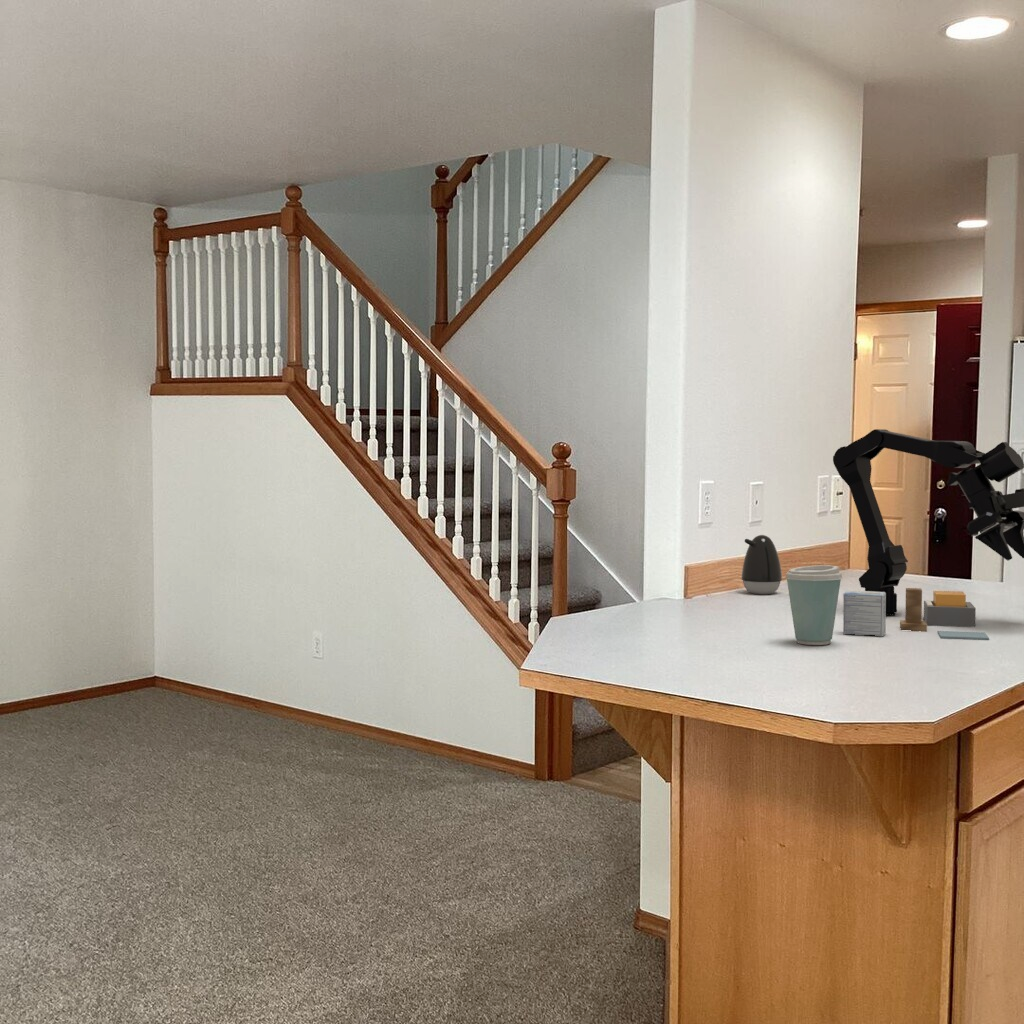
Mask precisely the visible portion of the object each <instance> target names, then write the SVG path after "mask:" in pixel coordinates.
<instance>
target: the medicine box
mask: <svg viewBox="0 0 1024 1024" xmlns="http://www.w3.org/2000/svg"><path fill="white" fill-rule="evenodd" d="M842 597H843V598H842V599H843V601H842V602H843V603H842V604H843V606H842V607H843V609H842V610H843V611H842V612H843V613H842V615H843V617H842V620H843V623H842V624H843V625H842V626H843V627H842V629H843V632H842V634H843V635H845V634H855V635H854V636H864V635H875V636H874V637H882V636H883V635H884V636H885V634H886V632H887V629H886V628H887V627H886V626H887V622H886V621H887V620H886V619H887V617H886V616H887V615H886V593H885V592H874V591H865V590H846V591H845V592H844V593H843V594H842ZM884 636H883V637H884Z"/></svg>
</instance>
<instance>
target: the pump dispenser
mask: <svg viewBox="0 0 1024 1024" xmlns="http://www.w3.org/2000/svg"><path fill="white" fill-rule="evenodd" d="M744 543H745V544H747V545H748V548H747V550H746V552H745V556H744V558H743V559H744V560H743V564H742V571H741V580H742V582H743V583H742V584H743V586H744V588H745V589H746V591H747V592H749V593H750V594H753V595H758V596H759V595H761V596H762V595H763V596H764V595H772V594H773V593H775V592H777V590H778V589H779V587H780V586H781V585H780V584H781V581H782V579H783V574H782V573H783V572H782V566H781V562H780V561H781V560H780V557H779V554H778V551H777V548H776V545H775V543H774V541H773V540H772V539H771V538H770V536H767V535H764V534H760V535H757V536H755V537H754V538H753V539H749V538H745V539H744Z"/></svg>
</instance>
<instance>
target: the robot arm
mask: <svg viewBox="0 0 1024 1024" xmlns="http://www.w3.org/2000/svg"><path fill="white" fill-rule="evenodd" d="M884 449H888V450H893V451H896V452H901V453H906V454H910V455H915V456H920V457H925V458H926V459H929V460H931V461H932V462H934V463H936V464H937V465H938V464H939V465H941V466H944V467H945V468H949V469H960V468H961V469H962V470H961V471H958V472H950V473H949V478H948V479H947V483H946V484H947V486H957V485H959V487H960V489H961V490H962V493H963V494H964V496H965V498H966V499H967V500H968V503H967V505H966V506H967V507H968V509H971V510H973V511H974V513H975V515H976V517H975V518H974V519H972V520H970V521H968V523H967V526H966V530H967V531H968V533H969V535H970V536H971V537H974V538H975V539H976V540H978V541H980V542H981V543H982V544H984V545H985V546H987V547H988V548H990V549H991V550H992V551H994V552H995V553H996V554H998V555H999V556H1001V557H1002V558H1003V559H1004V560H1006V561H1010V560H1013V555H1012V553H1011V550H1010V548H1011V549H1012V550H1013V551H1014V552H1015V553H1017V554H1018V555H1019V556H1020V557H1021V558H1022V559H1024V511H1023V510H1022V511H1021V510H1014V509H1018V508H1024V488H1018V489H1015V490H1014V492H1013V493H1006V494H1003V492H1002V491H999V490H996V489H995V487H994V486H993V484H992V482H993V481H995V482H997V483H1001V482H1002V481H1004V480H1006V479H1008V478H1010V477H1011V476H1013V475H1015V474H1016V473H1018V472H1020V471H1021V470H1023V469H1024V461H1023V458H1022V457H1021V455H1020V454H1019V453H1018V452H1017V451H1016V450H1015V449H1014V448H1013V447H1011V446H1010V445H1009V443H1008V442H1007V441H1002V442H1000V443H999V444H997V445H996V446H995V447H994V448H992V449H991V450H988V451H987V452H982V451H980V450H977V449H976V448H975V447H974V444H972V443H971V442H969V441H967V440H966V441H965V440H964V441H963V440H961V441H960V440H933V439H928V438H923V437H918V436H914V435H908V434H905V433H899V432H893V431H889V430H888V429H885V428H882V429H881V428H878V429H873V430H871V431H870V432H868V433H867V434H866V435H865V436H862V437H860V438H858V439H856V440H855V441H853V442H850V444H848V445H847V446H841V447H839V448H838V449H836V451H835V453H834V455H833V456H832V462H833V463H832V464H833V465H834V467H835V469H836V471H837V473H838V475H839V477H840V478H841V479H842V480H843V481H844V482H845V483H846V484H847V486H848V488H849V490H850V492H851V495H852V498H853V502H854V505H855V507H856V510H857V514H858V517H859V520H860V524H861V527H862V529H863V532H864V535H865V538H866V540H867V545H868V552H867V565H868V569H867V570H866V571H865V572H864V573H863V574H862V575H861V576H860V577H858V581H859V582H858V583H859V585H860V588H862V589H864V591H874V592H885V593H886V616H896V615H895V614H896V613H897V611H898V610H897V609H898V607H897V606H898V604H897V603H898V594H897V592H895V587H898V586H899V583H900V580H901V579H902V578H903V577H904V575H905V574H906V571H907V570H908V569H907V563H908V562H909V560H908V559H907V558H906V556H905V552H904V548H903V545H902V544H897V545H895V544H894V543H893V542H892V541H891V540H892V539H890V537H889V533H888V531H887V528H886V524H885V521H884V518H883V516H882V512H881V509H880V507H879V504H878V501H877V498H876V496H875V492H874V489H873V486H872V483H871V478H872V477H871V476H872V463H871V462H872V460H873V459H874V458H876V457H877V456H879V454H880V453H881V452H882V451H883V450H884ZM977 464H978V465H977ZM972 465H975V467H973V468H972V467H970V466H972ZM976 465H977V466H976ZM1009 547H1010V548H1009Z"/></svg>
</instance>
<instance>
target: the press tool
mask: <svg viewBox="0 0 1024 1024" xmlns="http://www.w3.org/2000/svg"><path fill="white" fill-rule="evenodd" d="M922 610H923V590H922V588H920V587H919V588H917V587H915V588H914V587H911V588H910V587H906V588H905V613H904V614H905V617H904V618H905V620H904V619H903V620H901V619H900V620H899V628H901V629H900V631H901V630H911V631H910V632H919V631H921V633H922V632H923V633H924V632H925V633H926V632H928V625H927V624H926V622H925V620H922V619H923V618H922V616H923V614H922V613H923V611H922Z"/></svg>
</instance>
